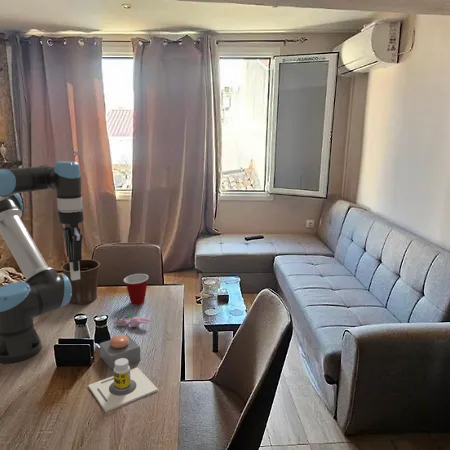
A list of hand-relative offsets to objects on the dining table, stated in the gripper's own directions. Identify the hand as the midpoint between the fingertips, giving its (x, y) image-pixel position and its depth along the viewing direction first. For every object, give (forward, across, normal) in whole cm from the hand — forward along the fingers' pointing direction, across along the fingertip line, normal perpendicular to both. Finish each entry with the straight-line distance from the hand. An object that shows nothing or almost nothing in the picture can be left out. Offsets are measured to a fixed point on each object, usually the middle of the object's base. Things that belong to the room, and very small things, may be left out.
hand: (75, 279), depth 136 cm
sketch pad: (+26, -29, -3) cm, 39 cm away
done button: (+25, -13, -9) cm, 29 cm away
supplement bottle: (+26, -29, -3) cm, 39 cm away
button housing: (+26, -13, -9) cm, 31 cm away
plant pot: (+27, +43, -15) cm, 53 cm away
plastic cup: (+27, +25, -33) cm, 49 cm away
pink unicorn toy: (+27, +6, -22) cm, 35 cm away
